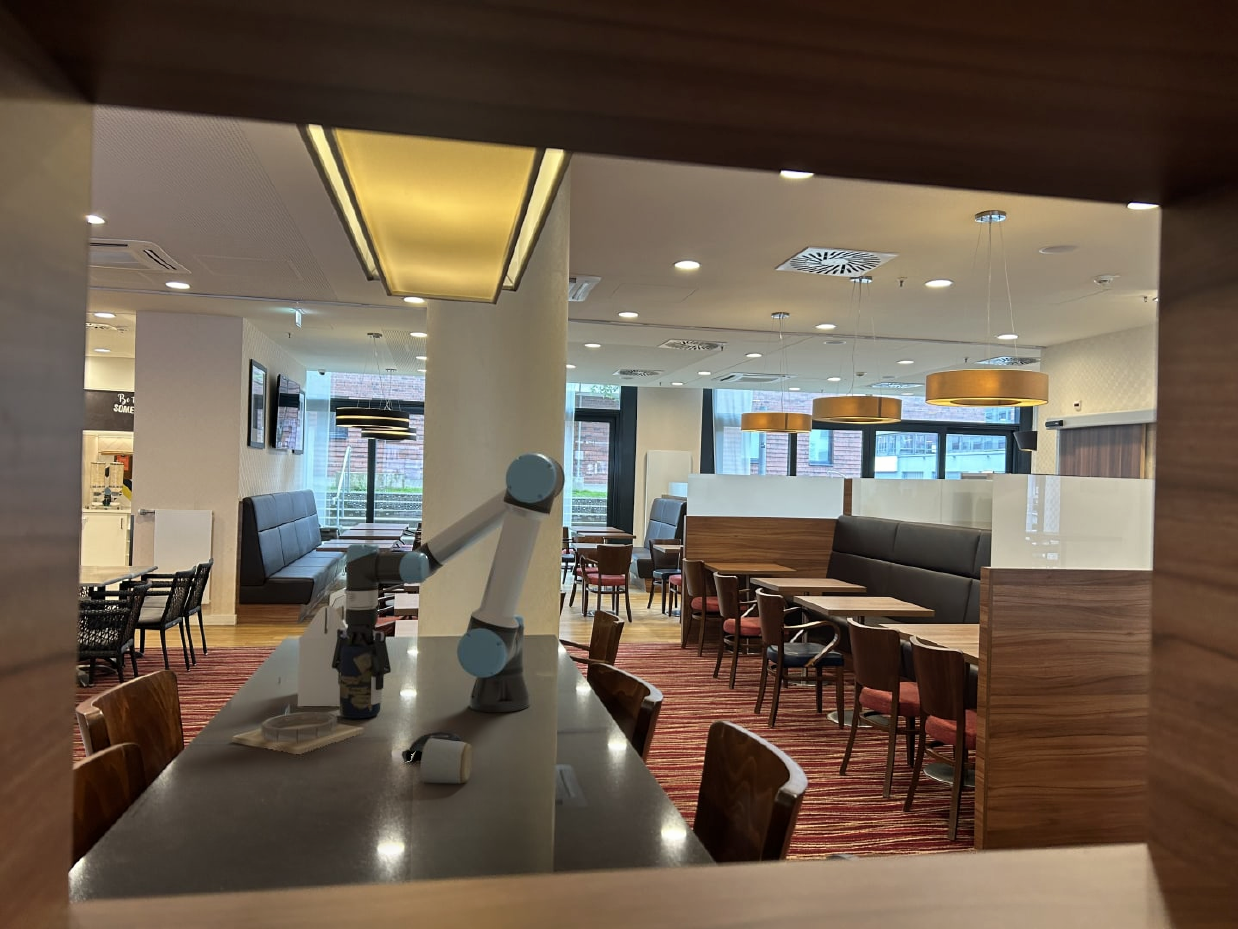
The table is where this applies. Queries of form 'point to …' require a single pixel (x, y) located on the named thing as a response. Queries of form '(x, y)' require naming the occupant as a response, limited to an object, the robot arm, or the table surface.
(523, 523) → the robot arm
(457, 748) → the ceramic mug
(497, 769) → the table surface
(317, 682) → the gable box
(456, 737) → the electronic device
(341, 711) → the canister
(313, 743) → the ring holder board
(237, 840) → the table surface
